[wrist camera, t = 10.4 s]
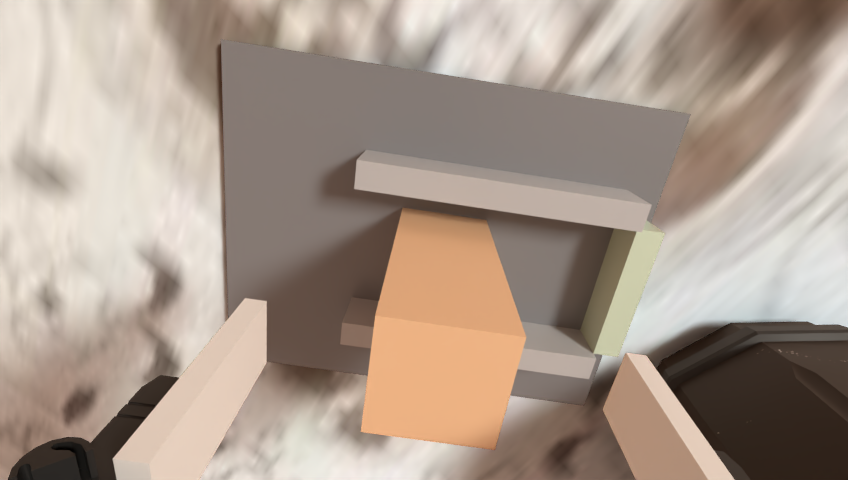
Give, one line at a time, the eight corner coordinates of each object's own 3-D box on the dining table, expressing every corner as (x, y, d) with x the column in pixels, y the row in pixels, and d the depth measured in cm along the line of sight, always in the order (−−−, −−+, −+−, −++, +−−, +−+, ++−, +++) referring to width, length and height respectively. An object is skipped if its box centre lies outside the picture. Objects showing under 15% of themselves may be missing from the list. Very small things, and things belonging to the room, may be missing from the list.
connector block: (402, 207, 25) (375, 315, 14) (486, 220, 25) (526, 337, 14) (392, 282, 27) (360, 431, 16) (470, 293, 27) (494, 450, 16)
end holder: (226, 40, 22) (189, 34, 19) (684, 113, 23) (726, 119, 20) (233, 351, 30) (207, 386, 26) (581, 399, 30) (599, 439, 27)
